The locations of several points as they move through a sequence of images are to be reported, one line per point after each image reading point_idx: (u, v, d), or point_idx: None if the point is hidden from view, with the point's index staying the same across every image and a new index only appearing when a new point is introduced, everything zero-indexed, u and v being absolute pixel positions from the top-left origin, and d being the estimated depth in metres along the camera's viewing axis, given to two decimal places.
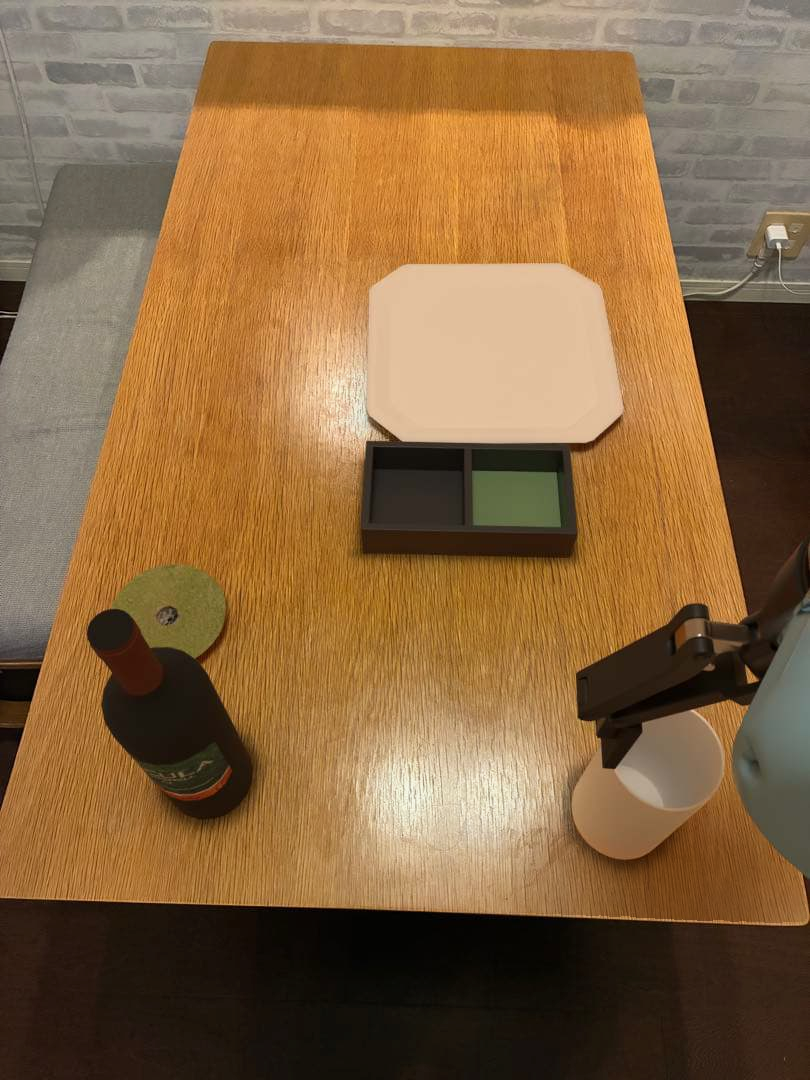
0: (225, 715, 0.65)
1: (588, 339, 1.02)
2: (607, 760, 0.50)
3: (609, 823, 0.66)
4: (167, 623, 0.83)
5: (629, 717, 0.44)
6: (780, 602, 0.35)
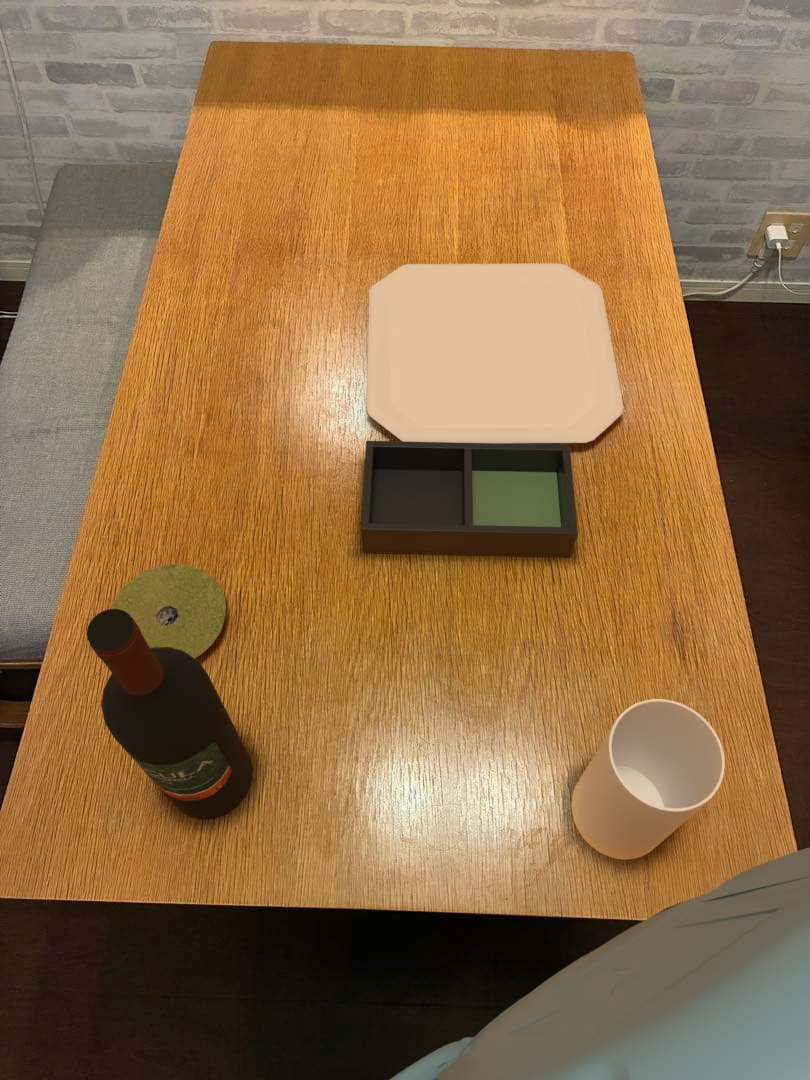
0: (225, 715, 0.65)
1: (588, 339, 1.02)
2: None
3: (609, 823, 0.66)
4: (167, 623, 0.83)
5: None
6: None
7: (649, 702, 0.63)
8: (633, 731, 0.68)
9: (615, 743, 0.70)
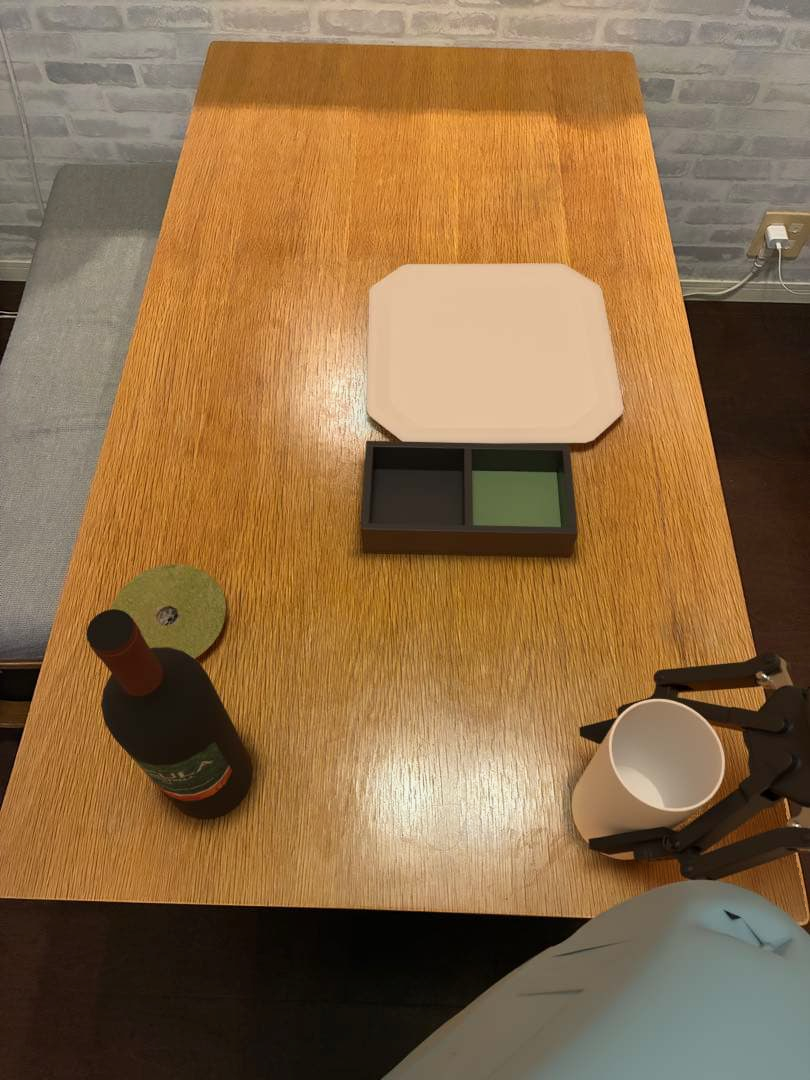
0: (225, 715, 0.65)
1: (588, 339, 1.02)
2: (593, 724, 0.70)
3: (609, 823, 0.66)
4: (167, 623, 0.83)
5: (666, 697, 0.66)
6: None
7: (649, 702, 0.63)
8: (633, 731, 0.68)
9: (615, 743, 0.70)
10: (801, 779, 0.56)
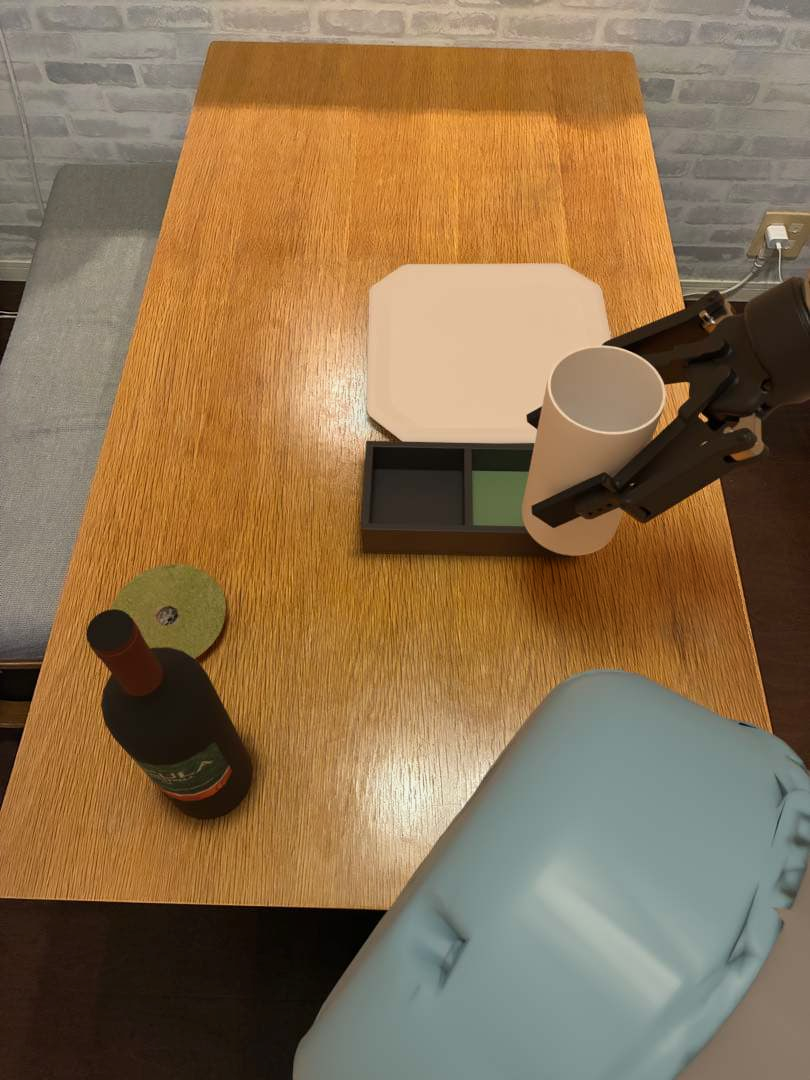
0: (225, 715, 0.65)
1: (588, 339, 1.02)
2: (540, 407, 0.68)
3: (553, 489, 0.64)
4: (167, 623, 0.83)
5: None
6: None
7: (591, 348, 0.61)
8: (579, 406, 0.67)
9: None
10: (739, 389, 0.55)
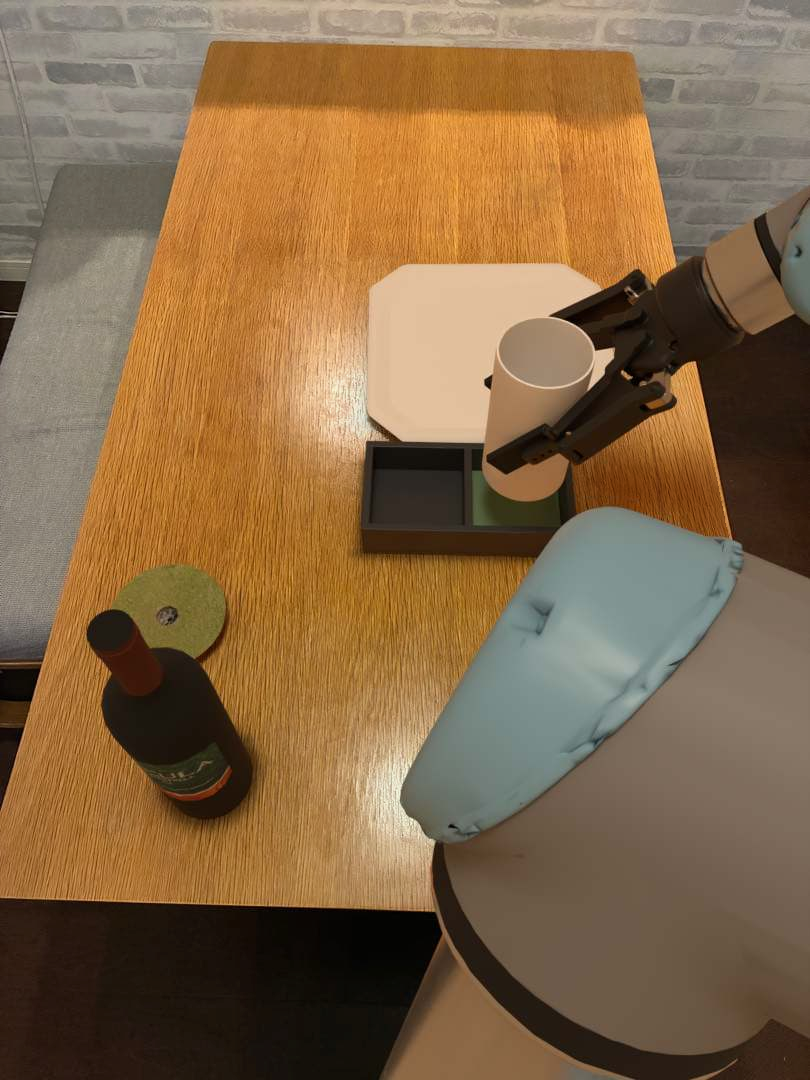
0: (225, 715, 0.65)
1: None
2: None
3: (504, 440, 0.75)
4: (167, 623, 0.83)
5: None
6: None
7: (534, 319, 0.72)
8: (528, 370, 0.78)
9: None
10: (653, 349, 0.66)
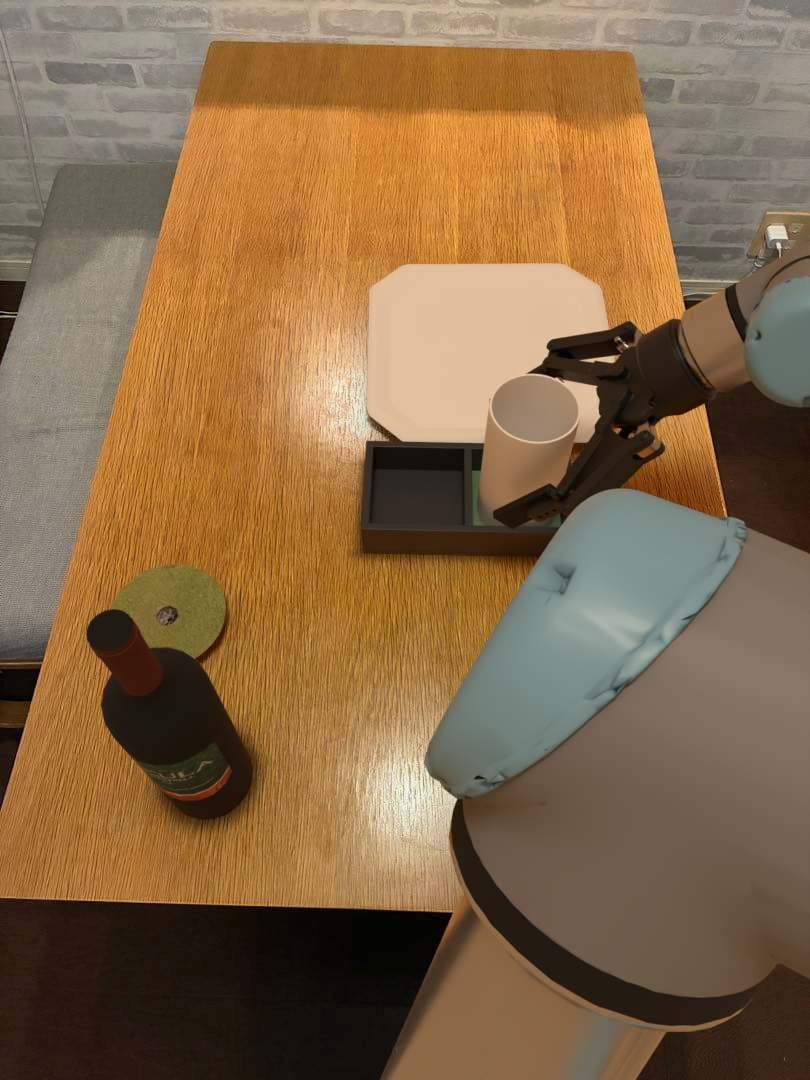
0: (225, 715, 0.65)
1: None
2: None
3: (497, 486, 0.81)
4: (167, 623, 0.83)
5: (555, 358, 0.81)
6: None
7: (524, 376, 0.78)
8: (519, 420, 0.84)
9: None
10: (634, 404, 0.72)
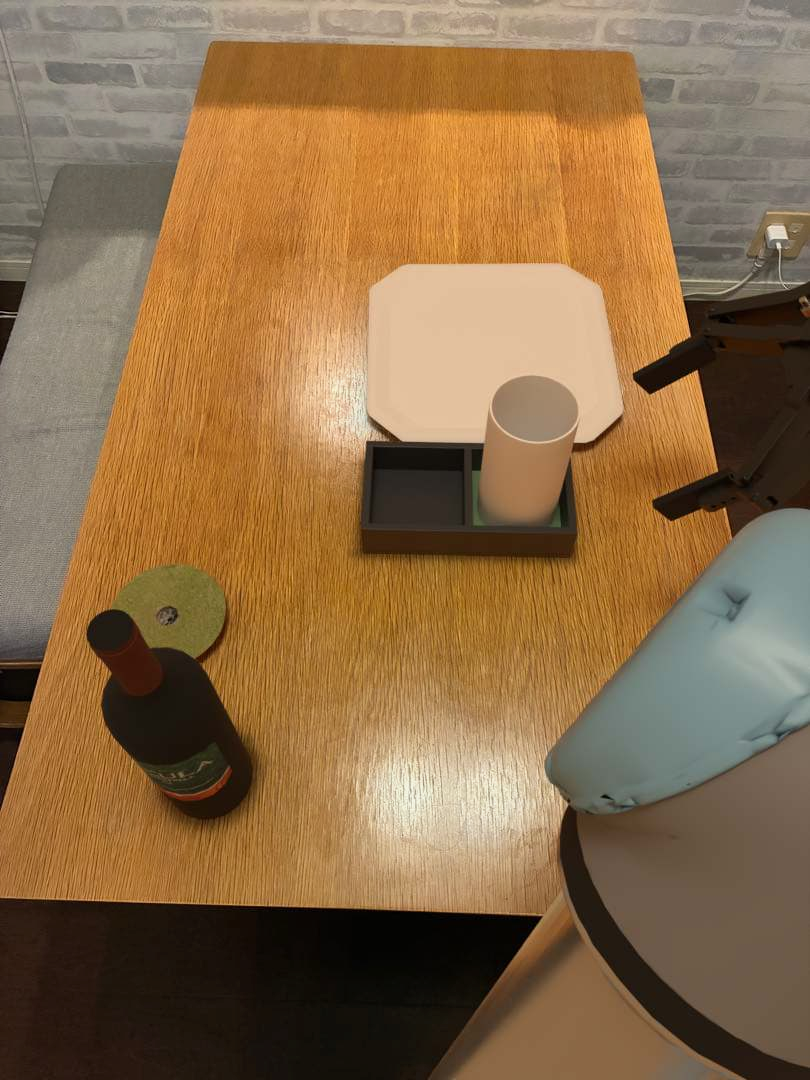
0: (225, 715, 0.65)
1: (588, 339, 1.02)
2: (645, 366, 0.74)
3: (497, 486, 0.81)
4: (167, 623, 0.83)
5: (718, 324, 0.71)
6: None
7: (524, 376, 0.78)
8: (519, 420, 0.84)
9: None
10: None
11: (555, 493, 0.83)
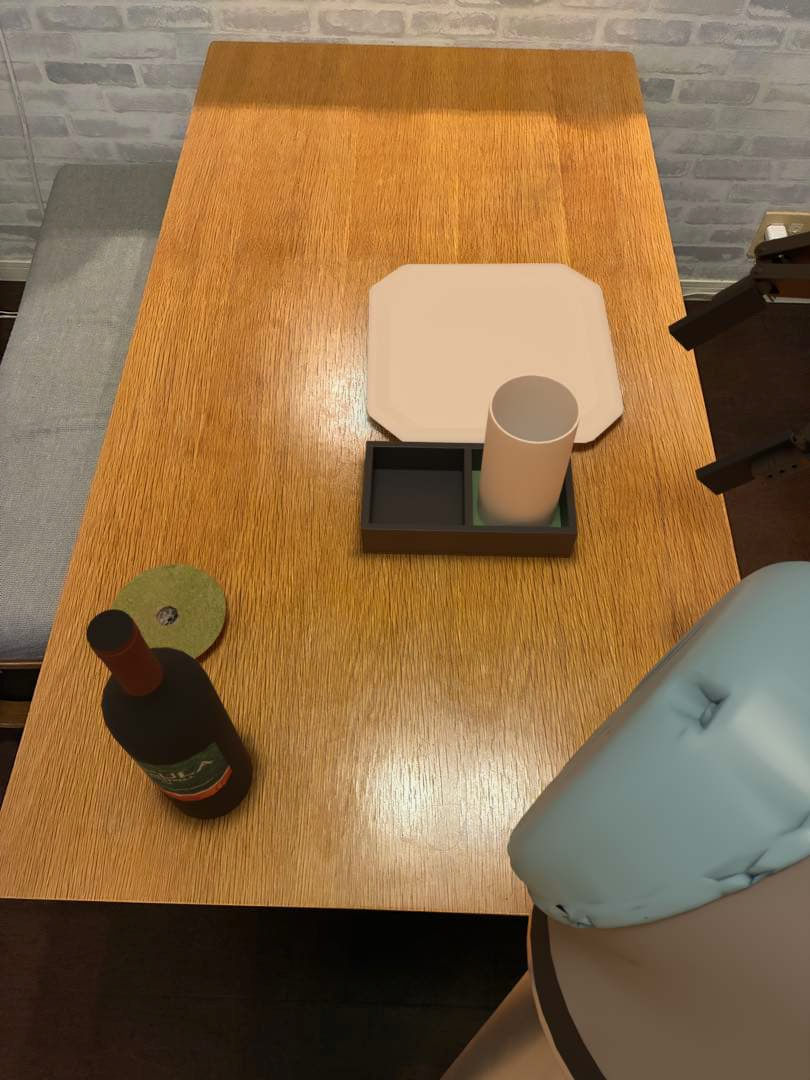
0: (225, 715, 0.65)
1: (588, 339, 1.02)
2: (684, 317, 0.64)
3: (497, 486, 0.81)
4: (167, 623, 0.83)
5: (771, 265, 0.60)
6: None
7: (524, 376, 0.78)
8: (519, 420, 0.84)
9: None
10: None
11: (555, 493, 0.83)
